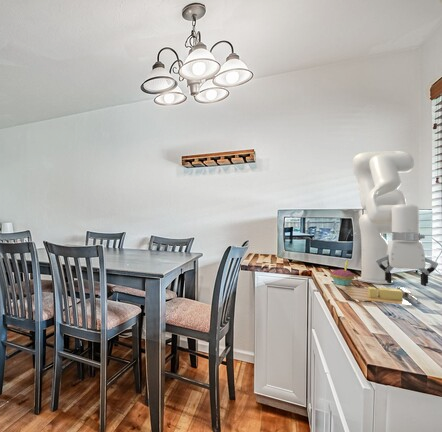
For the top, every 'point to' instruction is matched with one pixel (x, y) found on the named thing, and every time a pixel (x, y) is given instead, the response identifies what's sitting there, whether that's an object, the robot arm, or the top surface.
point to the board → (363, 295)
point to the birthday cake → (342, 276)
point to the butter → (390, 293)
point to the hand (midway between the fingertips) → (405, 284)
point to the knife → (408, 294)
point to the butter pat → (372, 292)
